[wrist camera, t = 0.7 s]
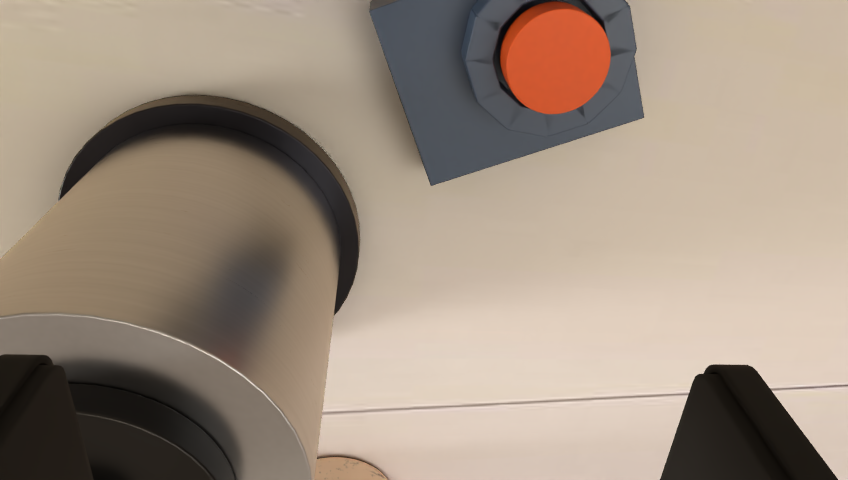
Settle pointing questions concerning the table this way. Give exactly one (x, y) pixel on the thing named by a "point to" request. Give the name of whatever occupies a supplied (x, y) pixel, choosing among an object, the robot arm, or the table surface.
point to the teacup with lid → (345, 470)
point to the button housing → (490, 81)
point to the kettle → (190, 291)
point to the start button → (555, 57)
